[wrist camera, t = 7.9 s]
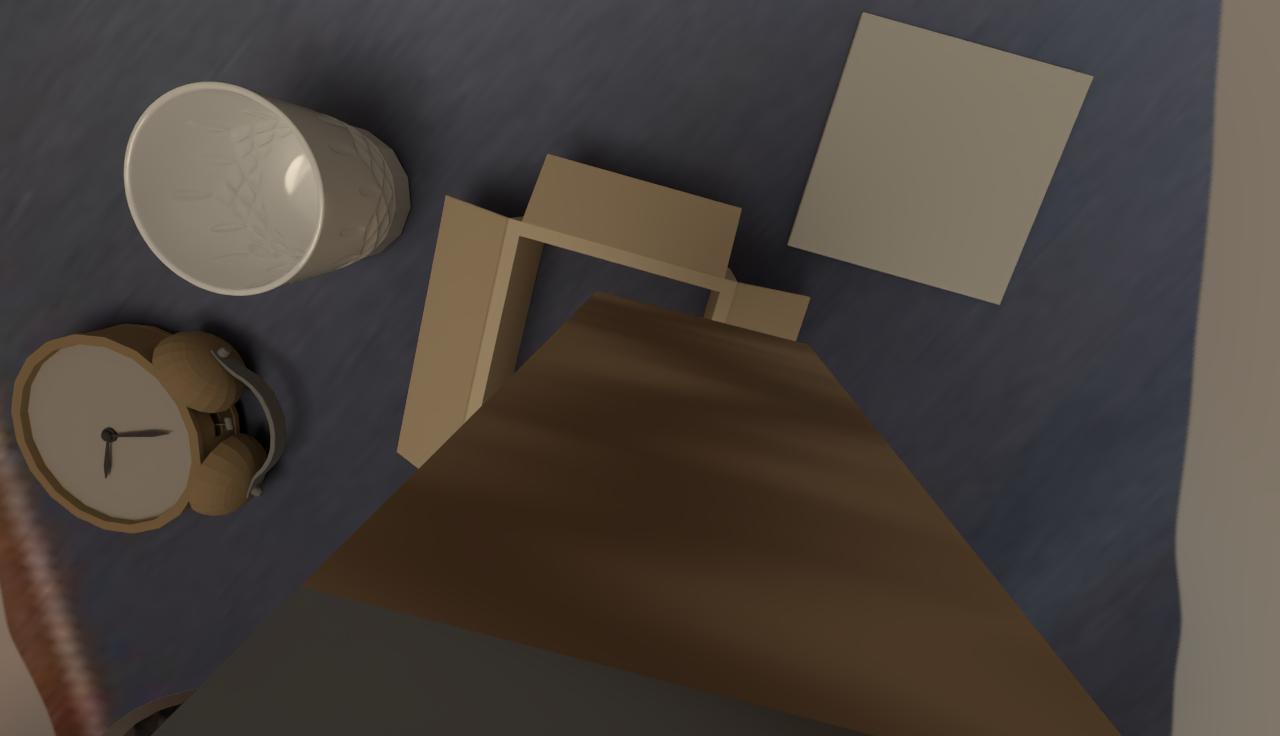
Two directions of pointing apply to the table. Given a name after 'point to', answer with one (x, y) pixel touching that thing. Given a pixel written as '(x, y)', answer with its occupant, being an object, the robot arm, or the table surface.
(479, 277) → the carton
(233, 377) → the alarm clock
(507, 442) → the walnut box
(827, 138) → the mat
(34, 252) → the table surface
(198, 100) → the white cup
